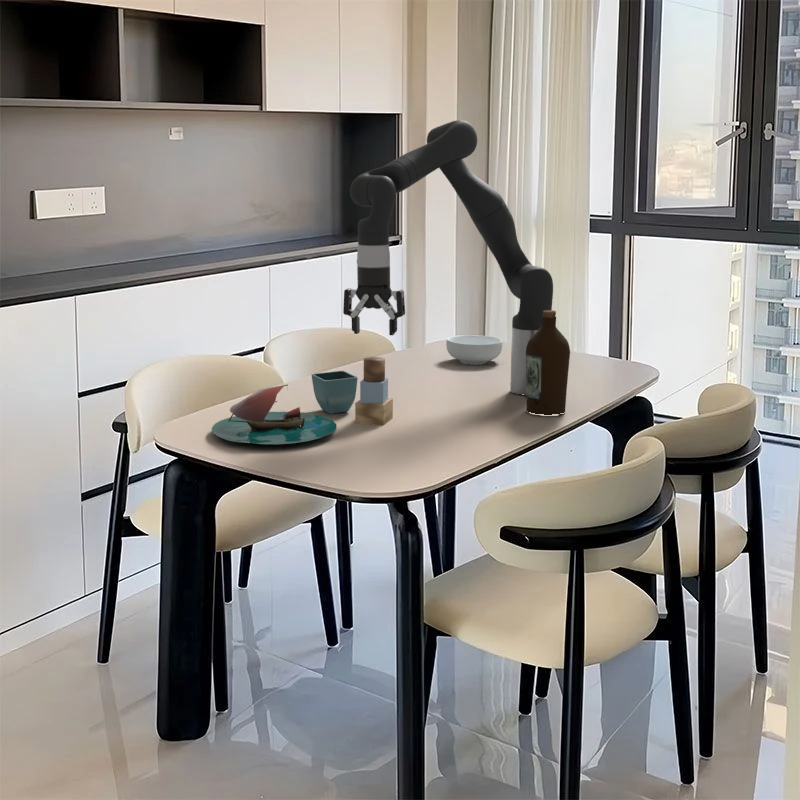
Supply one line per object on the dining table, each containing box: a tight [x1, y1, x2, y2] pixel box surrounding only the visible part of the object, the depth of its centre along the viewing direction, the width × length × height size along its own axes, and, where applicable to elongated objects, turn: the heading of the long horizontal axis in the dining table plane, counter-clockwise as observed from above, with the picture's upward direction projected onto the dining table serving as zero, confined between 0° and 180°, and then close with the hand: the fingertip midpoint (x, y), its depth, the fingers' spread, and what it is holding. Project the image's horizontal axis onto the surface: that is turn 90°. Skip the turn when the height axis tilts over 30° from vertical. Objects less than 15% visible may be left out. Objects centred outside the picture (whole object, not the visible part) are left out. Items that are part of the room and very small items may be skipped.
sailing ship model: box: [211, 384, 338, 445], centre depth 247 cm, size 28×28×11 cm
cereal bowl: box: [445, 334, 503, 366], centre depth 328 cm, size 17×17×7 cm
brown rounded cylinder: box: [363, 356, 386, 382], centre depth 258 cm, size 5×5×5 cm
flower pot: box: [311, 370, 359, 415], centre depth 268 cm, size 9×9×9 cm
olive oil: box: [525, 310, 571, 415], centre depth 266 cm, size 11×11×25 cm
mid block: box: [359, 377, 389, 404], centre depth 259 cm, size 6×6×5 cm
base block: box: [354, 397, 394, 426], centre depth 260 cm, size 7×7×5 cm
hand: (374, 334), depth 256 cm, fingers open, 8 cm apart
